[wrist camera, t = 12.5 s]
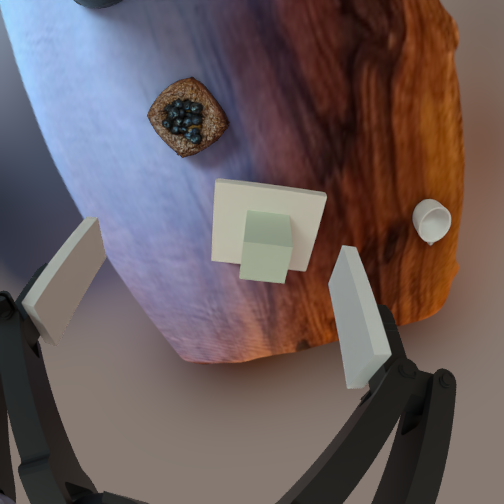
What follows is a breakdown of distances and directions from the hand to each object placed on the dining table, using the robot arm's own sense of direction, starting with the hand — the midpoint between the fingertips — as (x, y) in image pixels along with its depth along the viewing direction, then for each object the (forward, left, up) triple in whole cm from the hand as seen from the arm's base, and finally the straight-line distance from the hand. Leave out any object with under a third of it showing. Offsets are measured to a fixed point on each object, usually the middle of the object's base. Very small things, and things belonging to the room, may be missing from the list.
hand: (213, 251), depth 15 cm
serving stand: (+18, +5, -35) cm, 39 cm away
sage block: (+18, +5, -30) cm, 35 cm away
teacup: (+12, +37, -35) cm, 52 cm away
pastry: (0, -10, -35) cm, 37 cm away
